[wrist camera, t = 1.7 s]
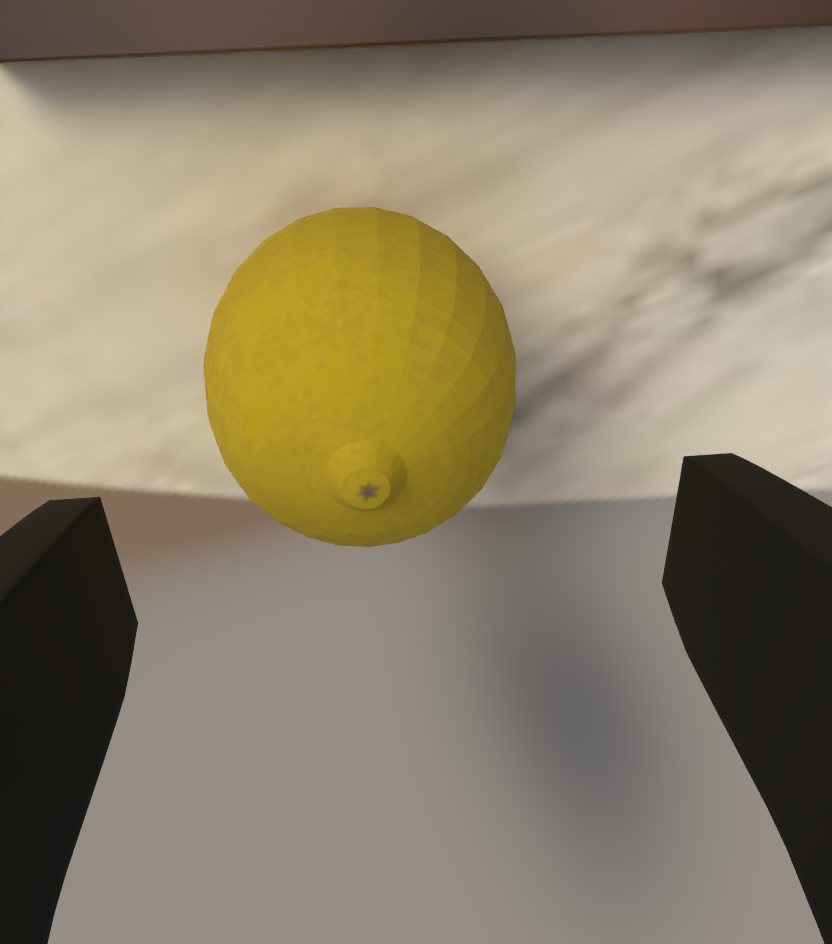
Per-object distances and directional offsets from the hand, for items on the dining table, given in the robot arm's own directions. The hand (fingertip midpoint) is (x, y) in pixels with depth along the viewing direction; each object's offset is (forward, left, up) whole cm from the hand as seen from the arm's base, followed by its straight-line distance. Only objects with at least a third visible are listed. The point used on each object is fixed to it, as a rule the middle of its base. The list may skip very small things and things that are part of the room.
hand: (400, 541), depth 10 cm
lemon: (0, 0, -9) cm, 9 cm away
